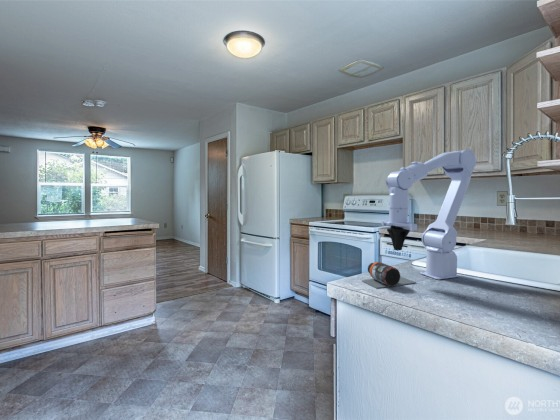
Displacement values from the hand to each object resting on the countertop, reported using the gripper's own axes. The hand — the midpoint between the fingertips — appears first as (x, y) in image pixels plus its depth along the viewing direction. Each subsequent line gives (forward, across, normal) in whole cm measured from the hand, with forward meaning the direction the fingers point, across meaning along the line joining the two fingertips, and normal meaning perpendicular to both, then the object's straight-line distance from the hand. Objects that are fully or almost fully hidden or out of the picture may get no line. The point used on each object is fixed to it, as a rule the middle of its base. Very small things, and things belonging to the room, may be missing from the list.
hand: (397, 249), depth 102 cm
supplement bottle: (+7, +5, -6) cm, 11 cm away
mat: (+10, 0, -4) cm, 11 cm away
